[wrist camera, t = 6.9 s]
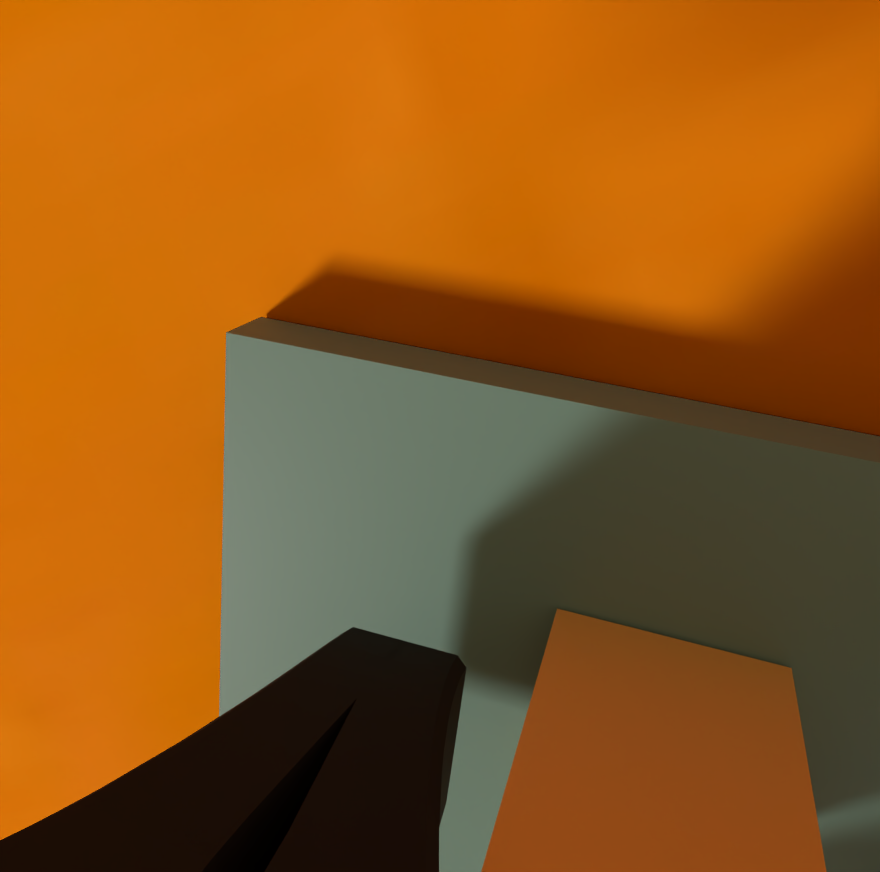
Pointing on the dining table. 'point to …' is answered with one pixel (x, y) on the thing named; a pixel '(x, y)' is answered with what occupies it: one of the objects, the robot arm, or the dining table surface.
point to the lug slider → (656, 761)
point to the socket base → (544, 543)
